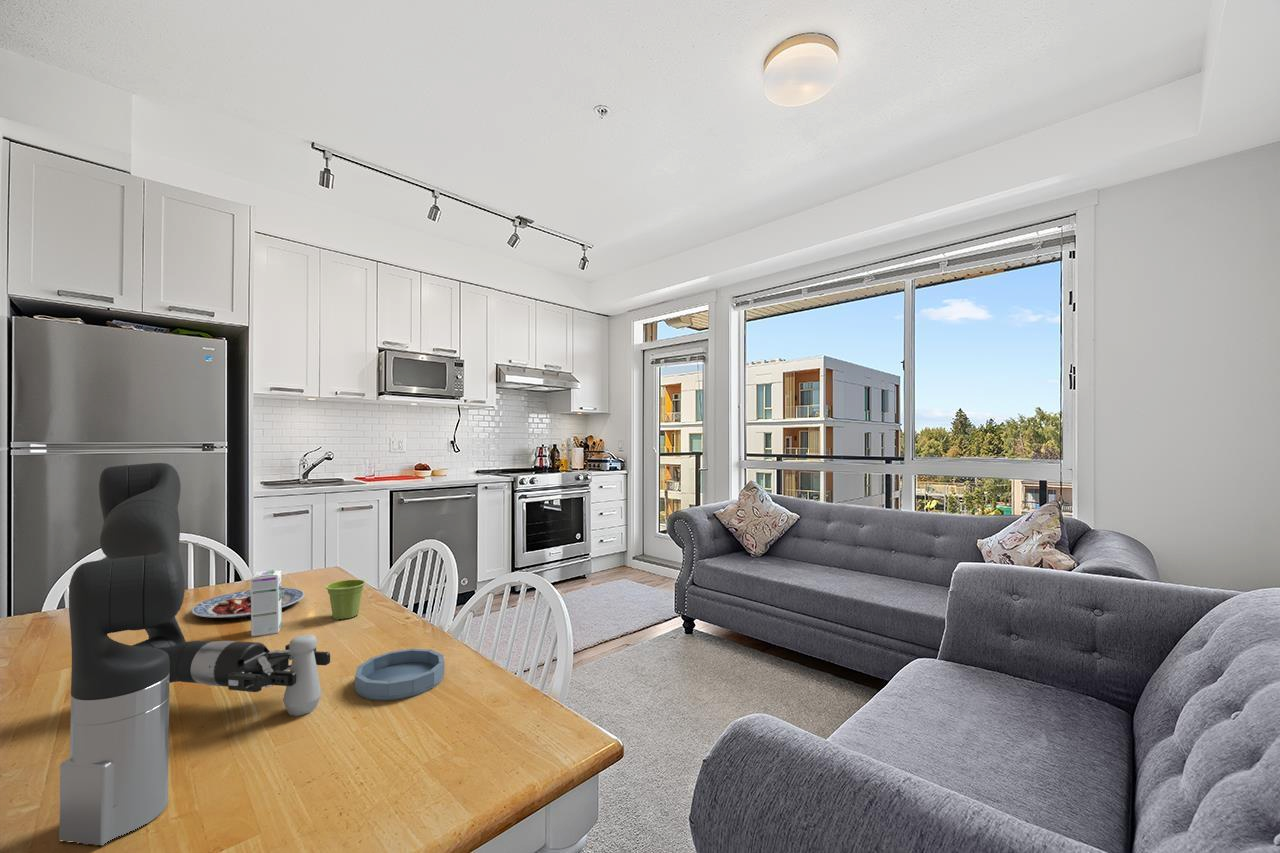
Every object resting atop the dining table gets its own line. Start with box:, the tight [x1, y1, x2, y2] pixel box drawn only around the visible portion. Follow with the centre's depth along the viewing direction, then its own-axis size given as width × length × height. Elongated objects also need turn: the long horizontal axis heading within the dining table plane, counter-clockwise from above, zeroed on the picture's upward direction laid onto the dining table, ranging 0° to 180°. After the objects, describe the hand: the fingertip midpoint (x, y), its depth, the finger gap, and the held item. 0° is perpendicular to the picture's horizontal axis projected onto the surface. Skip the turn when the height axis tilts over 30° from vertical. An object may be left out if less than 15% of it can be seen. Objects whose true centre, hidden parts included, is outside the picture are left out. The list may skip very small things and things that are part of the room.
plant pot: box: [325, 579, 366, 620], centre depth 148 cm, size 9×9×9 cm
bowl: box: [354, 648, 445, 702], centre depth 109 cm, size 16×16×3 cm
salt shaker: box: [283, 634, 323, 717], centre depth 98 cm, size 6×6×13 cm
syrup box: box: [250, 569, 283, 637], centre depth 136 cm, size 6×6×14 cm
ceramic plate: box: [191, 587, 305, 619], centre depth 154 cm, size 26×26×3 cm
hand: (312, 668), depth 98 cm, fingers open, 8 cm apart
